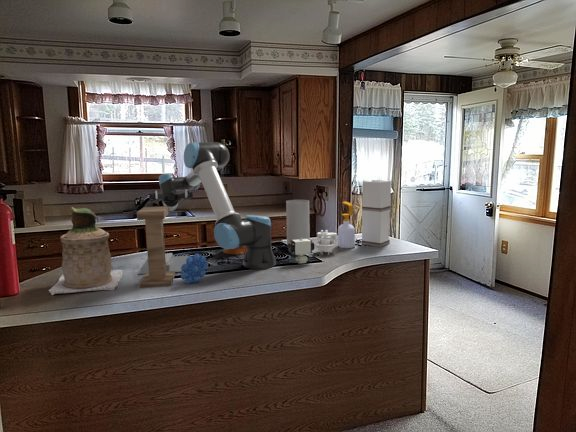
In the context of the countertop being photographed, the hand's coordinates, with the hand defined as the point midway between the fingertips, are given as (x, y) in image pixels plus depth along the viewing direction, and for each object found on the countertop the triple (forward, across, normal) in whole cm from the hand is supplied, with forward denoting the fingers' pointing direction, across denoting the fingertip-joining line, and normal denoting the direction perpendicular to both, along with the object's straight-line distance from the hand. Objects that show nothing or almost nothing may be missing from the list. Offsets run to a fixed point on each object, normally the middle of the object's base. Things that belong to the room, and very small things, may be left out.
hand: (171, 192), depth 195 cm
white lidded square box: (-12, -108, -31) cm, 114 cm away
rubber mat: (-8, +4, -33) cm, 34 cm away
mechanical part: (-3, -74, -34) cm, 82 cm away
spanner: (-8, +4, -32) cm, 34 cm away
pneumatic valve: (+9, -57, -38) cm, 69 cm away
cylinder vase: (-23, -66, -29) cm, 76 cm away
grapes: (+22, -6, -41) cm, 47 cm away
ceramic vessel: (-24, -34, -29) cm, 51 cm away
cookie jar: (+9, +35, -38) cm, 53 cm away
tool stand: (+15, +8, -39) cm, 43 cm away
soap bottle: (-12, -90, -32) cm, 96 cm away
